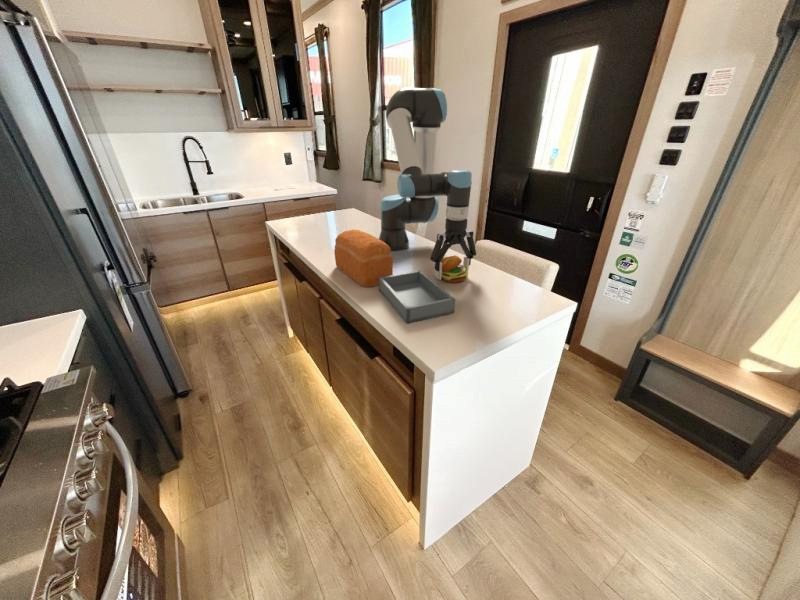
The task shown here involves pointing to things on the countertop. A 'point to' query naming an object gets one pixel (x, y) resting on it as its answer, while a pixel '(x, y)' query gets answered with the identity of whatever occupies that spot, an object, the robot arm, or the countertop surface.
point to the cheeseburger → (453, 269)
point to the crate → (416, 296)
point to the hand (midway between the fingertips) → (452, 275)
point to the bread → (363, 257)
